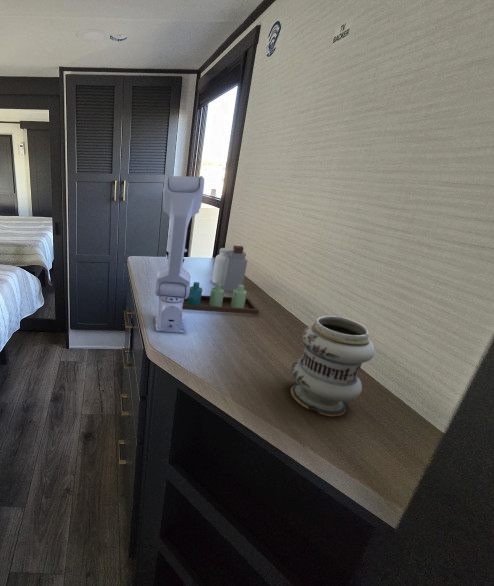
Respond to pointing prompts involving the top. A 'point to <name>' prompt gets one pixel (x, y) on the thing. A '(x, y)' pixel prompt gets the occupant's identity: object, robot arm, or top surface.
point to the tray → (204, 306)
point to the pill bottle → (220, 265)
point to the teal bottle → (195, 294)
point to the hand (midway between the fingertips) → (172, 274)
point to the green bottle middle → (216, 296)
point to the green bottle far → (238, 297)
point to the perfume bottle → (234, 268)
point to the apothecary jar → (331, 364)
